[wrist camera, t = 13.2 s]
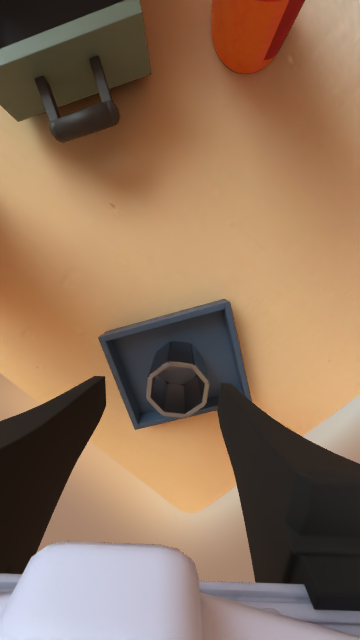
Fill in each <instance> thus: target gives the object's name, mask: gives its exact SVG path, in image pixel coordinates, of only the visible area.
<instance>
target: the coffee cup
mask: <svg viewBox="0 0 360 640" xmlns="http://www.w3.org/2000/svg"><path fill="white" fill-rule="evenodd" d="M304 1H305V0H213V1H212V21H211V29H212V39H213V44H214V47H215V50H216V52H217V54H218V56H219V58H220V59H221V61H222V62H223V63H224V64H225V65H226V66H227V67H228V68H230V69H231V70H233V71H235V72H238V73H244V74H248V73H254V72H257V71H259V70H261V69H263V68H264V67H265V66H267V65H268V64H269V63H270V62H271V61H272V60H273V59H274V57H275V56H276V54H277V53H278V51H279V50H280V48H281V46H282V44H283V42H284V41H285V39H286V37H287V35H288V33H289V31H290V29H291V27H292V25H293V23H294V21H295V19H296V17H297V15H298V13H299V11H300V9H301V7H302V5H303V3H304Z"/></svg>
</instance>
